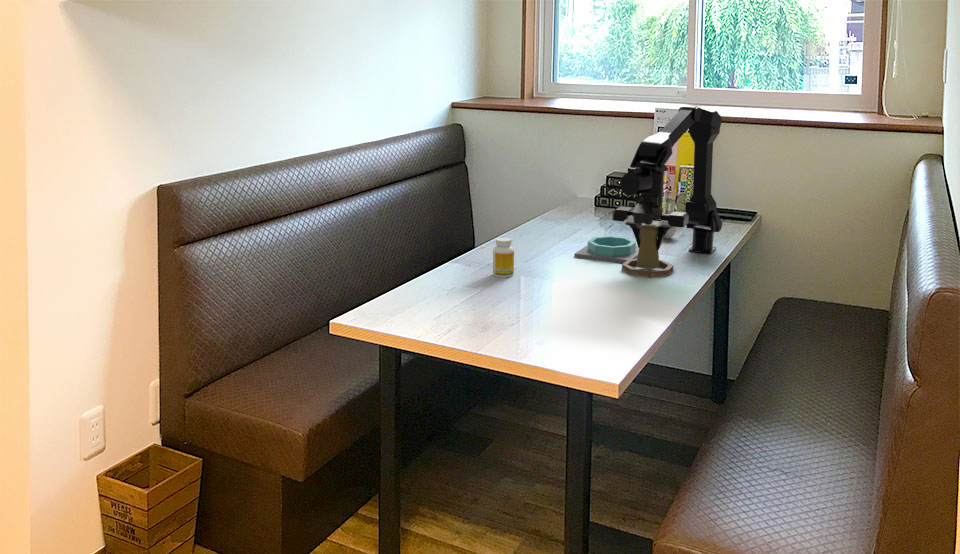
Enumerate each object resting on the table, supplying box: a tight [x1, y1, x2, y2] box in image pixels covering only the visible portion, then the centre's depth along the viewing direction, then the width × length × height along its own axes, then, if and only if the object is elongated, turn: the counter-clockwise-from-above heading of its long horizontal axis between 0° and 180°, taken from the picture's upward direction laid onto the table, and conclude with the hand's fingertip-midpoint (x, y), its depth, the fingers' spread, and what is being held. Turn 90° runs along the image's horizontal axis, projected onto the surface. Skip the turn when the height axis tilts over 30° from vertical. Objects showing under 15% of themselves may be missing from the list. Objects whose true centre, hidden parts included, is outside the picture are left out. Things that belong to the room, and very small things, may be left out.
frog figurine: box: [656, 221, 679, 240], centre depth 269 cm, size 6×7×7 cm
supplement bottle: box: [492, 237, 515, 279], centre depth 231 cm, size 5×5×10 cm
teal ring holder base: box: [573, 235, 639, 264], centre depth 252 cm, size 16×16×4 cm
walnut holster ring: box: [621, 259, 675, 278], centre depth 236 cm, size 12×12×2 cm
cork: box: [635, 223, 660, 270], centre depth 234 cm, size 6×6×11 cm
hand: (648, 248), depth 235 cm, fingers closed on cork, 4 cm apart
